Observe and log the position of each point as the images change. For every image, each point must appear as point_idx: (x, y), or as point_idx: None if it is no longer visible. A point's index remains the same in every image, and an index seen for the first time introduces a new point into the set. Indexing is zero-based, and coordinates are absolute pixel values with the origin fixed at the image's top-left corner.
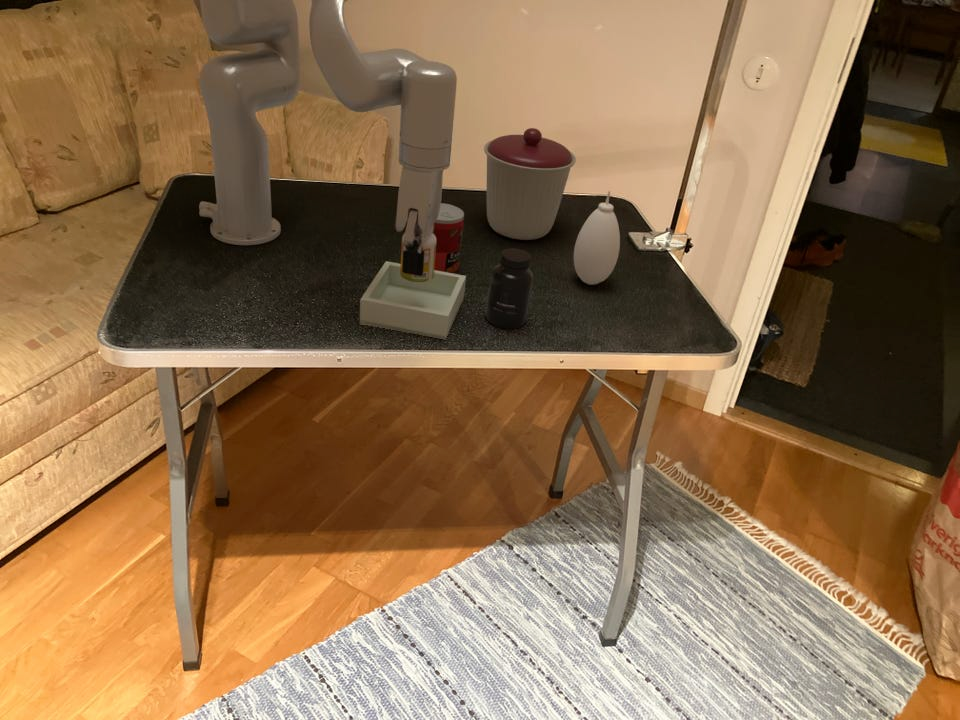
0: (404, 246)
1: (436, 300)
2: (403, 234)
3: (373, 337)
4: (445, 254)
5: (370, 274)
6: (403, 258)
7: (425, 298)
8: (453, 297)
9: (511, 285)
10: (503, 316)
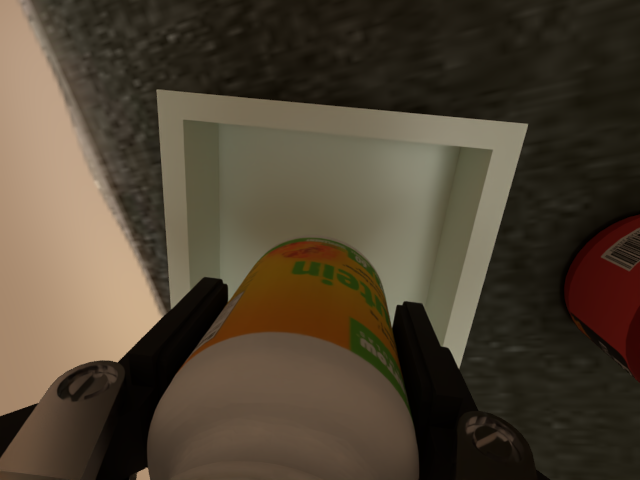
0: (44, 398)
1: None
2: (270, 370)
3: (156, 156)
4: (621, 350)
5: (558, 52)
6: (167, 316)
7: (385, 272)
8: None
9: None
10: None
